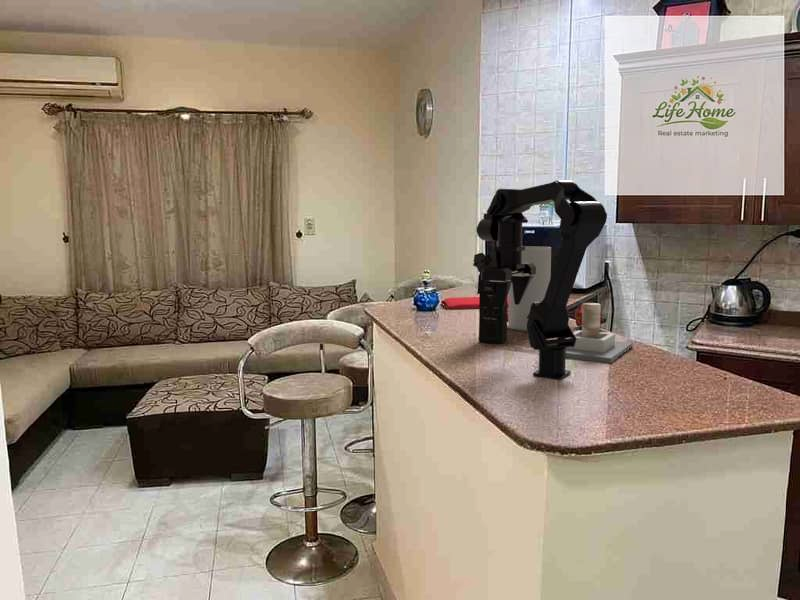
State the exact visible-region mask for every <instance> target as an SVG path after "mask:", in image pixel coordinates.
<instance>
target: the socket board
mask: <svg viewBox="0 0 800 600" xmlns="http://www.w3.org/2000/svg"><path fill="white" fill-rule="evenodd" d="M573 334H574V335H575V337H576V343H575V346H574V347H566V359H574V360H582V361H590V362H598V363H605V362H606V363H608V364H612V363H614V362H615V361H616V360H617V359H619V358H620V357H621V356H623V355H624V354H625V353H624V352H625V351H627V350H628V349H629V348H630V347H632V346H633V345H634V344H633V342H627V341H616V333H611V332H601V331H600V339H595V338H585V337H582V330H579V329H578V330H576V331H574V332H573ZM633 347H634V346H633ZM633 347H632V348H633ZM628 351H629V350H628ZM628 351H627V352H628ZM623 353H624V354H623ZM622 354H623V355H622ZM620 355H621V356H620ZM619 356H620V357H619ZM618 357H619V358H618Z"/></svg>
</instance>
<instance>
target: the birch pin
mask: <svg viewBox="0 0 800 600" xmlns="http://www.w3.org/2000/svg"><path fill="white" fill-rule="evenodd" d="M581 305H582V326H581V331H582V337H585V338H595V339H600V332H601V324H600V311H601V307H602V306H601V304H600V303H599V302H598V303H595V302H583V303H582V304H581Z"/></svg>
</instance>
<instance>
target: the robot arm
mask: <svg viewBox="0 0 800 600" xmlns="http://www.w3.org/2000/svg"><path fill="white" fill-rule="evenodd" d="M568 201H569V202H568ZM549 203H553V204H554V212H555V214H556V215H557V216H558V217H559V219H560V223H559V230H560V234H561V238H562V243H561V245H560V247H559V248H560V249H559V251H558V255H557V258H556V261H555V264H554V267H553V270H552V273H551V278H550V282H549V285H548V288H547V291H546V294H545V297H544V299H543V300H542V301H541V302H534V303H532V305H531V308H530V313H529V315H528V316H527V319H528V321H527V331H526V332H527V336H528V340H529V346H530V348H533V350H536V351H538V369H537V370H535V371H533V372H532V375H533V376H536V377H537V376H538V377H543V378H551V379H558V380H562V379H563V378H566V377H567V376H568V375H569V374H571V373H572V371H571V370H569V369H566V361H567V360H566V359H567V358H566V347H574V346H575V343H576V337H575V335H574V334H573V333H574V332H573V330H572V329H571V327H570V325H569V320H570V315H569V312H568V307H567V304H568V302H569V299H570V297H571V293H572V291H573V288H574V285H575V282H576V279H577V276H578V273H579V270H580V268H581V265H582V262H583V259H584V256H585V254H586V251H587V249H588V247H589V246H590V245H591V244H592V243H593V242H594V241H595V240H596V239H597V238H598V237H599V236H600V235H601V233H602V231H603V229H604V227H605V225H606V222H607V219H608V213H607V211H606V209H605V207H604V205H603V203H601V202H600V201H598V200H597V199H596V198H595V197H594V196H592V195H591V194H589V193H588V192H586V191H585V190H584V189H582V188H580V187H579V185H578V184H577V183H576V182H575V181H573V180H558V179H557V180H554V181H552V182H548V183H545V184H539V185H536V186H531V187H527V188H499V189H497V190H496V191H495V194H494V195H493V197H492V199H491V202H490V204H489V206H488V208H487V209H486V213H484V214H483V218H482V219H480V221H479V222H478V224H477V227H476V234H477V236H478V238H479V239H480V240H482V241H485V242H497V246H494V247H493V249H492V251H493V252H492V253H489V254H485V253H483V252H479V253H476V254H474V257H473V261H472V262H473V263H472V266H473V267H475V268H476V269H477V272H478V273H480V271H481V280H485V281H484V282H485V283H487V284H488V285H489V286H490V287H491V288H492V290H493V293H494V296H495V299H496V302H497V306H498V309H499V310H503V309H504V306H505V303H506V300H507V296H509V290H510V287H511V283H512V285H513V295H514V303H515V304H516V305H519V304H520V302H521V300H522V298H523V296H524V293H525V291H526V289H527V287H528V285H529V283H530V282H531V280H532V278H533V276H528V274H529V275H534V274H536V266H535V265H534V264H533V263H522V251H524V250H525V246H526V245H523V224H526V223H528V222H529V219H528V218H527V217H526V216H525V215H523V213H524V212H527V211H528V210H530V209H531V207H534V206H537V205H543V204H549ZM509 280H510V281H509Z"/></svg>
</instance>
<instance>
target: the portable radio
mask: <svg viewBox="0 0 800 600" xmlns="http://www.w3.org/2000/svg"><path fill="white" fill-rule="evenodd" d="M484 281H485V280H481V271H480V272H479V274H478V279H477V295H478V297H479V309H478V314H479V315H478V317H479V318H478V320H479V321H478V342H479V343H483V344H484V343H485V344H494V345H496V344H497V345H503V344H505V343H506V342H507V341H508V322H507V309H508V307H507V300H506V303H505V306H504V309H503V310H499V309H498V306H497V302H496V299H495V296H494V293H493V290H492V288H491V287H490V286H489V285H488V284H487V283H485V282H484Z"/></svg>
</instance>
